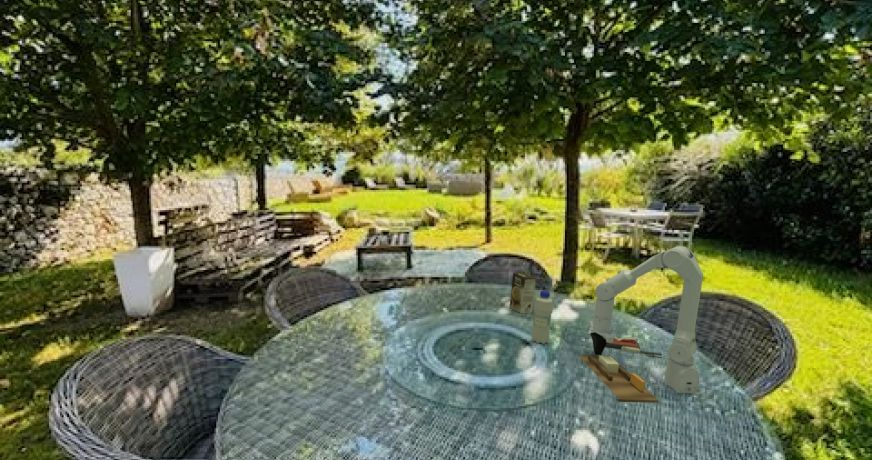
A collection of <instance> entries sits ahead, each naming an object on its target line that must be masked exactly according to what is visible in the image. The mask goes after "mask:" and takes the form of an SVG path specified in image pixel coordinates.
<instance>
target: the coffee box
mask: <svg viewBox="0 0 872 460" xmlns="http://www.w3.org/2000/svg"><path fill="white" fill-rule="evenodd" d="M536 281H537V277H535V276H533V275H531V274H529V273H527V272H520V271H519V272H518V271H517V272H513V273H512V281H511V289H510V291H511V292H510V300H509V308H511V309H512V310H514V311H516V312H517V313H519V314H532V313H533V307H534V299H535V298H534V297H535V290H536Z"/></svg>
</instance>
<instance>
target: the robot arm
mask: <svg viewBox="0 0 872 460" xmlns="http://www.w3.org/2000/svg"><path fill="white" fill-rule="evenodd" d="M666 267H667V268H668V269H669V270H671V271H673V272H675V273H676V274H677V275H678V276H679V277H680V278H681V279H682V280H683V285H682V292H681V298H680V304H679V311H678V317H677V325H676V330H675V333H674V336H673V340H672V343H671V344H670V345H669V346H668V349H667V350H668V355H667V356H668V358H667V362H666V368H665V376H664V384H665V385H666V386H668V387H670V388H671V389H673V390H674V391H675V392H676V393H677V394H694V395H695V396H700V393H699V392H698V388H699V382H700V373H699V371H698V370H697V369H696V367H695V360H694V359H695V358H694V357H693V355H694V354H695V353H696V352H697V350H698V344H697V341H696V331H695V330H696V324H697V323H696V322H697V318H698V317H697V316H698V310H699V307H700V305H699V304H700V299H701V291H702V286H703V278H704V274H703V272H702V270H701V268H700V265H699V263H698V261H697V259H696V255H695V254H694V253H693V251H692V250H691V249H689V248H688V247H686V246H684V245H675V246H674V247H673V248H670V249H669V248H668V249H666V250H665V251H662V252H660V253H658V254H655V255H652V256H651V257H650V258H648V259H647V260H645V261H643V262H642V263H640V264H639V265H638V266H636V267H634V268H632V269H631V270H629V269H623V270H622V269H619V270H618V271H617V273H616V274H615V275H613V276H612V277H611V278H610V277H607V278H606V279H605V282H601V283H599V284H598V285H597V286H596V287H595V296H596V302H595V307H594V315H593V321H589V324H588V325H589V326H588V327H589V328H588V330H589V331H590V333H589V335H590V338H591V341H592V347H593V353H594V356H603V353H604V350H605V348H606V347H605V346H606V345H607V343H613V339H614V337H615V336H614V335H613V334H612V331H611V327H612V320H613V312H614V306H615V305H614V304H615V297H617V296H618V294H619V295H620V294H622V293H623V292H625V291H627V290H628V289H630V288H631V287H633V286H635V285H636V283H637V279H639V278H640V277H642V276H644V275H646V274H648V273H649V272H651V271H653V270H655V269H657V268H660V269H661V268H662V269H663V268H666Z"/></svg>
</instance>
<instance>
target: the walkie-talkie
mask: <svg viewBox="0 0 872 460" xmlns="http://www.w3.org/2000/svg"><path fill="white" fill-rule="evenodd" d="M613 337H614V339H613V343H607V345H606V346H605V348H607V349H616V350H621V351H625V352H628V353H634V354H635V353H636V354H644V355H650V356H663V354H662V352H661V353H660V352H655V351H654V352H653V351H646V350H640V349H641V346H640V343H639V342H638V341H637V340H636V339H635V338H634V337H628V336H621V337H617V336H613Z"/></svg>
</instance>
